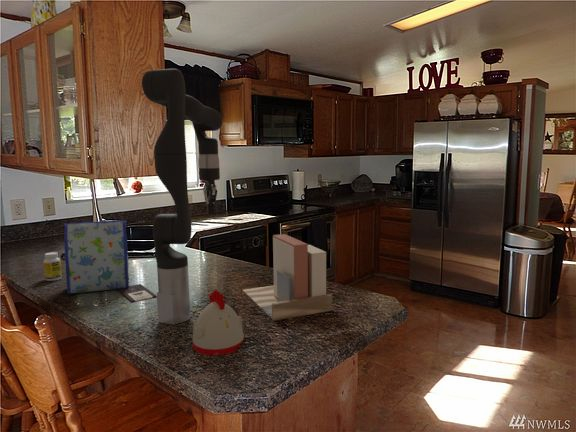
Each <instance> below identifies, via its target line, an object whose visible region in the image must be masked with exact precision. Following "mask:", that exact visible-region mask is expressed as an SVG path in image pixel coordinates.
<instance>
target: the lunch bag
mask: <svg viewBox="0 0 576 432" xmlns="http://www.w3.org/2000/svg"><path fill="white" fill-rule="evenodd" d="M63 225H64V227H63V228H64V260H65V261H64V262H65V278H66V279H65V280H66V289H67V290H66V291H67V294H79V293H80V294H81V293H90V292H99V291H100V292H101V291H109V290H110V291H111V290H117V289H121V288H129V286H130V285H129V283H130V282H129V280H130V276H129V275H130V274H129V264H130V263H129V251H128V235H127V221H126V220H118V219H114V220H101V221H99V220H98V221H86V222H85V221H84V222H72V223H64V224H63Z"/></svg>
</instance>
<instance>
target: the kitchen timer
mask: <svg viewBox="0 0 576 432" xmlns="http://www.w3.org/2000/svg"><path fill="white" fill-rule="evenodd" d="M208 297H209V298H208V299H209V302H210V303H208V304H207V305H206V306H205V307H204V308H203V309H202V310H201V312H200V314H199V316H198V317H197V319H196V321H193V328H192V329H193V330H192V333H193V334H192V348H193V350H194V351H195V352H197V353H198V354H202V355H206V356H222V355H228V354H231V353H235V352H236V351H238V350H240V345H242V343H243V342H244V340H245V335H244V329H243V319H242V317H241V315H237V313H236V312H235V310H234V309H233V308H232V307H231V306H230V305H229V304H228V303H227V302H226V299H224V294H223V293H221V292H220V290H217V289H214V290H213V292H211V294H209V296H208Z"/></svg>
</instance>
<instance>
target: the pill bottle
mask: <svg viewBox="0 0 576 432" xmlns="http://www.w3.org/2000/svg"><path fill="white" fill-rule="evenodd" d="M58 256H59V254H58V252H57V251H52V252H47V253H44V260H43V270H44V272H43V273H44V280H45V281H48V282H53V281H58V280H60V279H62V278H63V276H62V275H63V274H62V263H61V258H60V257H58Z"/></svg>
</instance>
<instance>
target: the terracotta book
mask: <svg viewBox="0 0 576 432" xmlns="http://www.w3.org/2000/svg"><path fill="white" fill-rule="evenodd" d="M308 245H309V244H308V243H306V242H303V241H302V240H299V239H297V238H295V237H292V236H290V235H288V234H286V233H284V234H283V233H282V234H273V235H272V252H273V253H272V255H273V256H272V257H273V258H272V260H273V261H272V262H273V263H272V264H273V269H272V270H273V285H274V297H275V298H277V270H279V271H281V272H282V273H284V274H285V275H287V276H289V277H290V278H291V300H294V299H301V298H307V297H308Z"/></svg>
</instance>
